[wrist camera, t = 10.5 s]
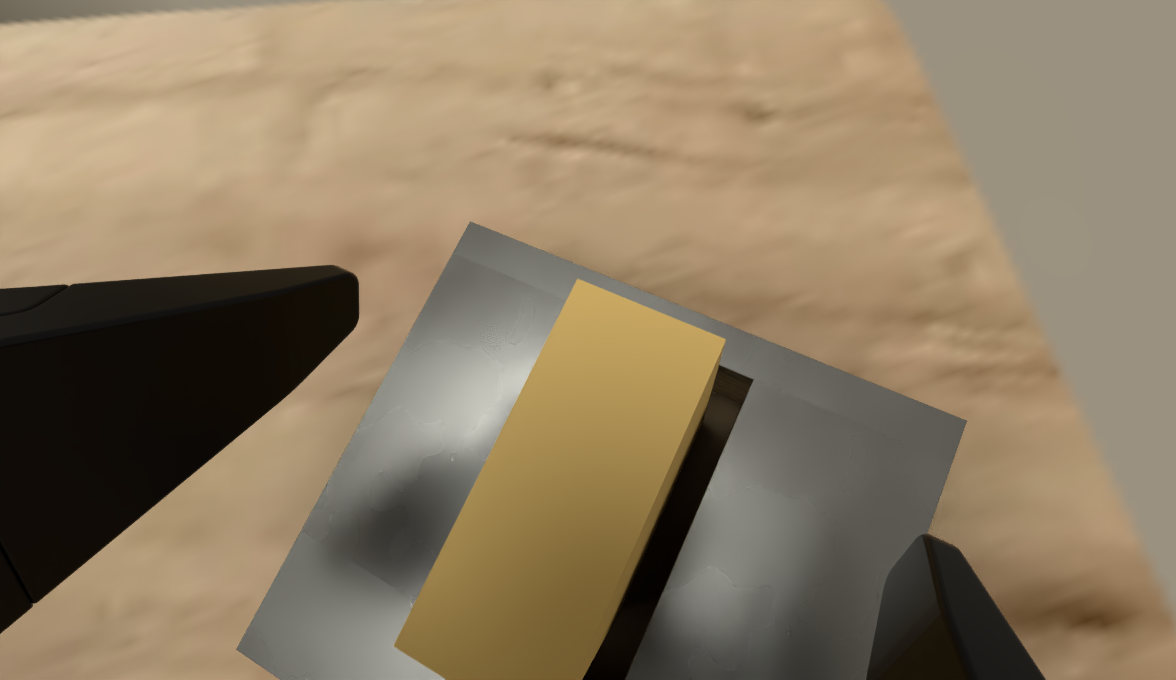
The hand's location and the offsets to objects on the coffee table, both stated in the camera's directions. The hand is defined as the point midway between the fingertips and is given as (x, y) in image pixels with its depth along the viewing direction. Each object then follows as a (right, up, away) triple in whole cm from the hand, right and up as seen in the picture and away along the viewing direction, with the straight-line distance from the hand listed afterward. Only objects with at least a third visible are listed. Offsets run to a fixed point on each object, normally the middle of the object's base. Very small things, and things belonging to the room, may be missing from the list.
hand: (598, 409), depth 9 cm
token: (+1, -4, +9) cm, 10 cm away
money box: (0, -5, +9) cm, 10 cm away
